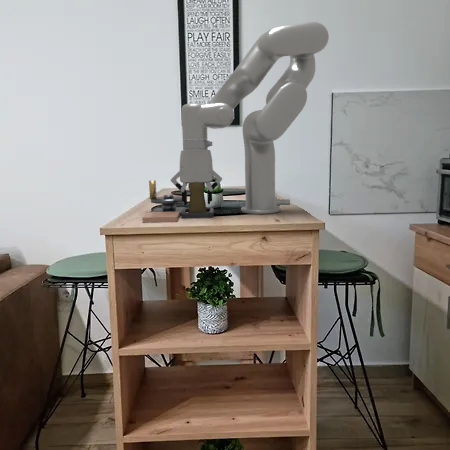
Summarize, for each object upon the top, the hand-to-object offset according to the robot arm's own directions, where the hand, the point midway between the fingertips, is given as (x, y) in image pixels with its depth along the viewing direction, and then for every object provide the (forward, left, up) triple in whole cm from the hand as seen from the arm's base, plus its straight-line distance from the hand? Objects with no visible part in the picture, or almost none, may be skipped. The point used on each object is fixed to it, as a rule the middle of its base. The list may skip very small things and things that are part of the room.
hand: (197, 203), depth 143 cm
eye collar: (0, 0, -4) cm, 4 cm away
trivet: (+10, +5, -4) cm, 12 cm away
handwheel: (+10, -10, 0) cm, 14 cm away
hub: (+10, -10, -4) cm, 15 cm away
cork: (0, 0, -4) cm, 4 cm away
